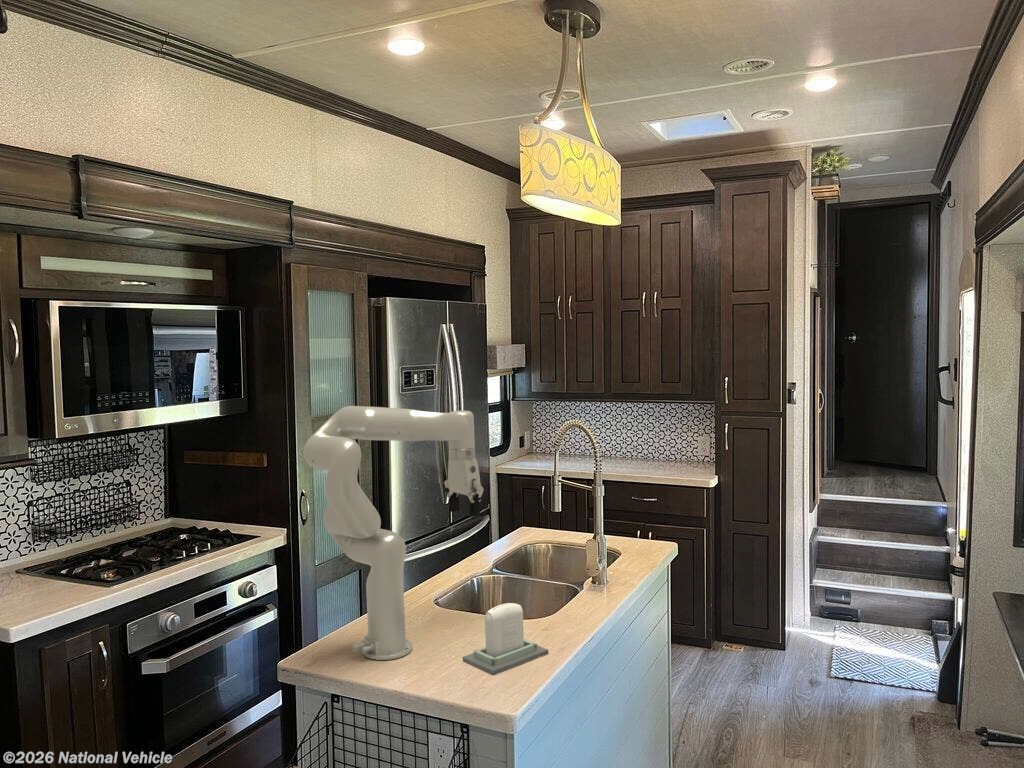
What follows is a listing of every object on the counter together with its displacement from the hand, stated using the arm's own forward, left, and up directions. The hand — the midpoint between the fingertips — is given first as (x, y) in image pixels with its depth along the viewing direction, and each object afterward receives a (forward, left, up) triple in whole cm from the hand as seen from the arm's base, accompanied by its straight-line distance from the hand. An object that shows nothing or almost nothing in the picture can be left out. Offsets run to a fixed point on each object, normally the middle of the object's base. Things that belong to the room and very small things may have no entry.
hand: (464, 513), depth 224 cm
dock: (-11, -30, -30) cm, 44 cm away
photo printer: (-11, -30, -30) cm, 43 cm away
